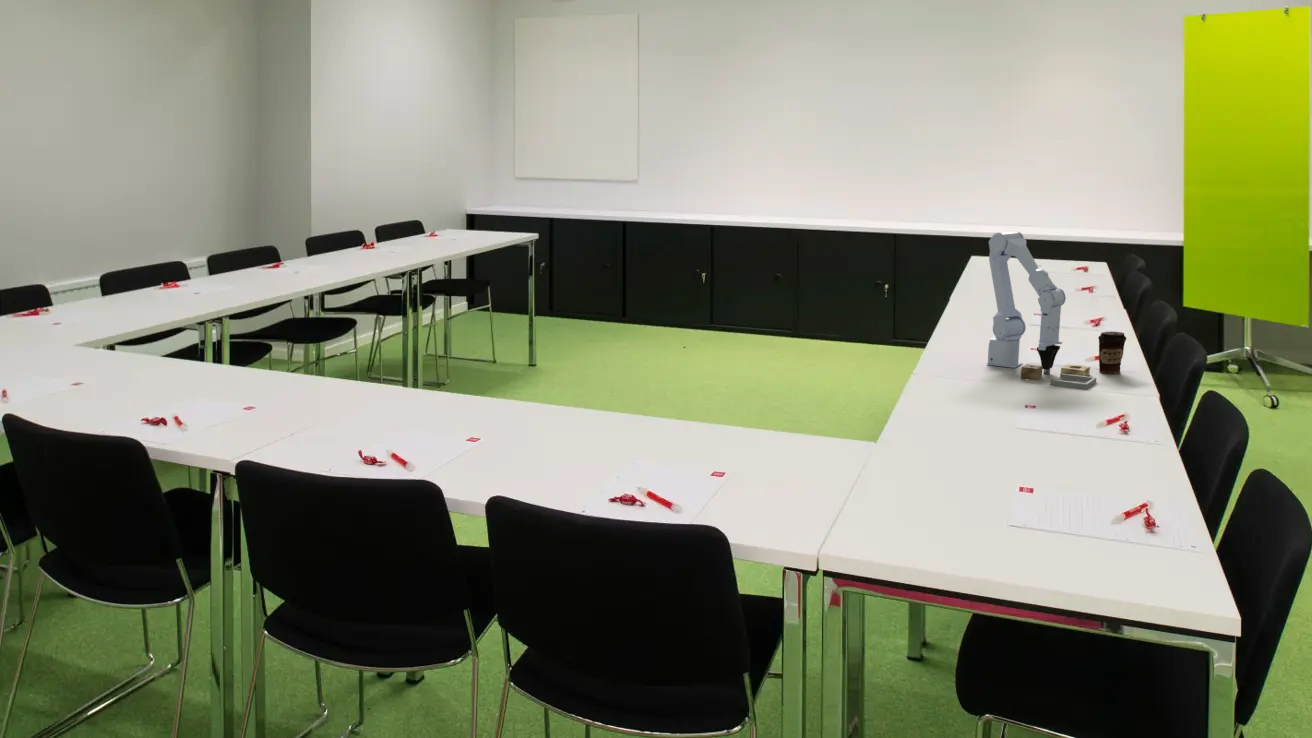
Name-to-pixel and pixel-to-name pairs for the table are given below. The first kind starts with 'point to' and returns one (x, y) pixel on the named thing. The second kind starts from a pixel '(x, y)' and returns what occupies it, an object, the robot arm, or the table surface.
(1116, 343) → the coffee cup
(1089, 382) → the grey arch piece
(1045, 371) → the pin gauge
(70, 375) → the table surface
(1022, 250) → the robot arm
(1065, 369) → the oak block
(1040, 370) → the walnut block
